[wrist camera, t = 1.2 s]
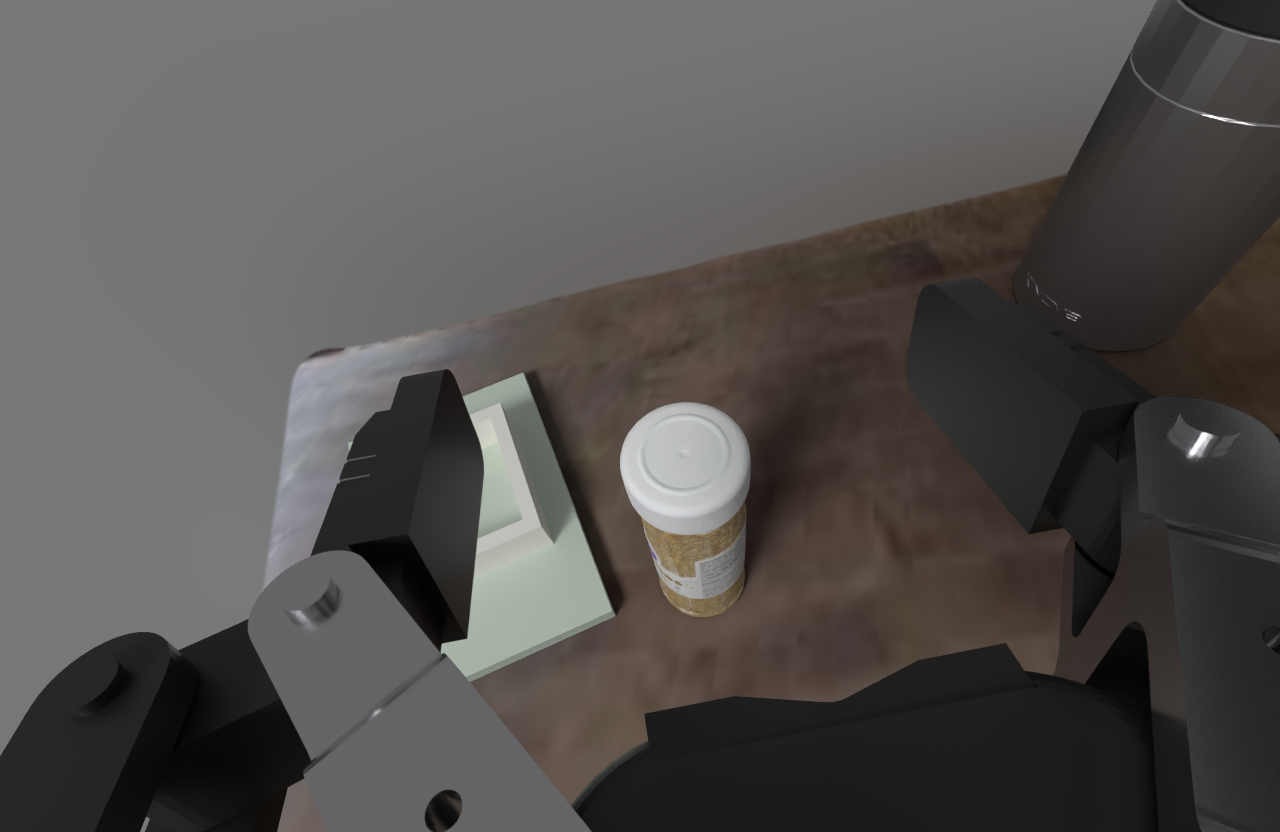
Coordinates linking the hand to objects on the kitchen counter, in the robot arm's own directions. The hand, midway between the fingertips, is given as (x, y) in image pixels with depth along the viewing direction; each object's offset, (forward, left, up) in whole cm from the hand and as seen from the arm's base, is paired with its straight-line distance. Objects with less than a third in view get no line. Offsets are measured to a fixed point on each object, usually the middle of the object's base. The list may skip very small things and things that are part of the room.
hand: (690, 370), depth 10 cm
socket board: (+10, -13, -23) cm, 28 cm away
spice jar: (-1, -4, -23) cm, 23 cm away
